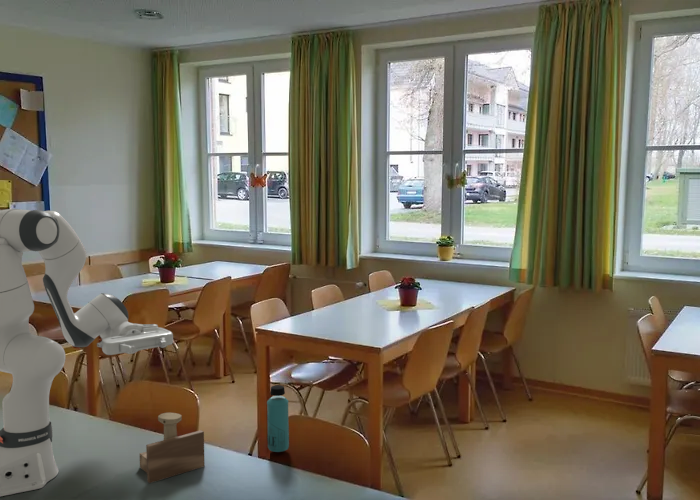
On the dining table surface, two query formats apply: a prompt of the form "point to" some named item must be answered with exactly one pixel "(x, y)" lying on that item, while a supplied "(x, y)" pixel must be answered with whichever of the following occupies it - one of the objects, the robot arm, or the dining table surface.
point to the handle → (169, 424)
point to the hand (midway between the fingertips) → (148, 347)
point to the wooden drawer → (173, 456)
